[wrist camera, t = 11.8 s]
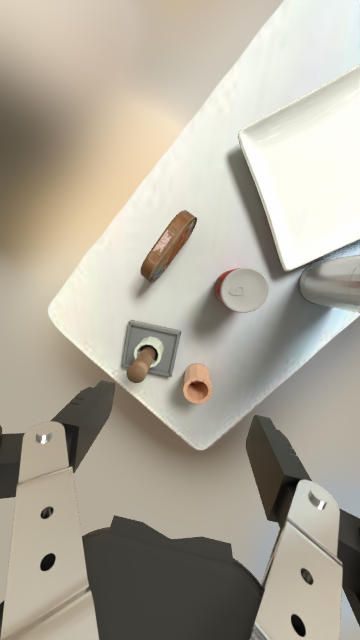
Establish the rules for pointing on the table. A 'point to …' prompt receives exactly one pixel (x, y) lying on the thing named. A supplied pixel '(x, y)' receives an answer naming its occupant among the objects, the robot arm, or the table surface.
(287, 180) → the square plate
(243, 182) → the table surface
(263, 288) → the canned food
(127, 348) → the tray
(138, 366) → the peg
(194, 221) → the tin
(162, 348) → the holder
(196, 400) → the cup
